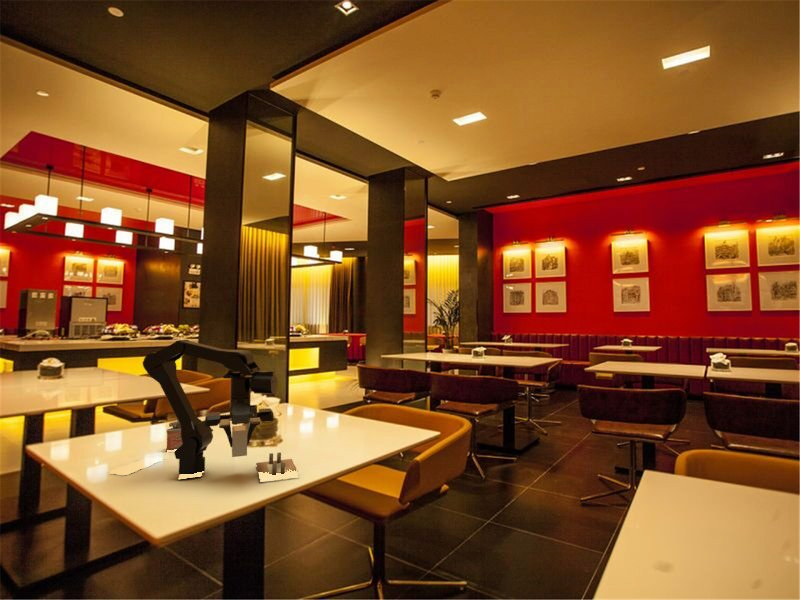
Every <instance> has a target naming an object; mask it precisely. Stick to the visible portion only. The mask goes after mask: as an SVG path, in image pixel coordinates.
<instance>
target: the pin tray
mask: <svg viewBox="0 0 800 600" xmlns="http://www.w3.org/2000/svg"><path fill="white" fill-rule="evenodd" d="M268 457H269V458H268V461H262V462H256V463H255V466H256V465H257V469H258V472H263V473H265V472H267V473H268V472H269V474H272V475H276V473H281V474H284V473H285V472H287V470H288V471H289V469H290V470H292V471H294V470H295V471H296V470H297V466H296V465H295V463H294V461H293V459H292V458H287V459H282V452H277V453H276V460H274V453H269V455H268ZM257 469H256V470H257ZM297 471H298V470H297ZM290 472H291V471H290Z"/></svg>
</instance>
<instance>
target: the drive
mask: <svg viewBox="0 0 800 600" xmlns="http://www.w3.org/2000/svg"><path fill="white" fill-rule="evenodd" d="M247 431H248V425H247V424H244V425H232V428H231V435H232V447H231V458H235V457H238V458H239V457H245V456H248V446H247Z"/></svg>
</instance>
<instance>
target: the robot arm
mask: <svg viewBox="0 0 800 600" xmlns="http://www.w3.org/2000/svg"><path fill="white" fill-rule="evenodd" d="M185 355H186V356H188V357H194V358H196V359H197V358H198V359H200V360H201V359H202V360H206V361H210V362H215V363H218V364H220V365H221V366H223V367H224V368H226V369H229V370H228V372H226V373H225V374H224V375H223V376H222V378H223V379H230V384H229V385H230V388H229V390H230V391H229V392H230V394H229V397H230V398H229V413H227V414H221V411H214V412H213V411H212V412H207V413H206V414H205V419H204V420H202V419H200V418H199V417H198V416H197V414H196V412H195V411H194V408H193V405H191V402H190V401H189V399H188V398H189V397H188V396H187V394H186V392H185V391H184V389H183V386H182V384H181V382H180V380H179V379H178V376H177V364H176V361H178V360H180V359H181V358H182V357H183V356H185ZM142 366H143V367H142V368H143V369H144V370H145V371H146V373H147V374H148V375H149V377H150V378H151V379H153V380H154V381H156V383H158V384H159V385H160V388H161V390H162V391H163V394H164V396H165V397H166V399H167V401H168V403H169V406H170V407H171V410H172V411H173V413H174V415H175V417H176V419H177V421H179V423H180V425H181V440H182V443H183V444H182V445H181V446H180V447H179V448H178V449H177V450H176V451H175V452H173V453H174V457H175V459H176V460H178V475H179V474H194V473H197V472H202V471H206V467H205V466H206V457H205V456H204V452H205V451H207V448H208V446H209V445H211V443H212V441H213V438H214V434H213V432H214V429H213V428H212V427H217V426H218V428H219V429H223V430H224V432H225V434H226V437H227V439H228V443H229V446H230V448H232V428H231V424H232V426H238V424H239V425H241V424H244V425H247V424H248V425H247V447H248V446H249V443H250V440H251V438H252V435H253V433H254V430H255V428H256V427H257V426H260V425H261V422H262V423H264V422H265V423H267V422H273V421H274V411H273V410H272V408H270V407H268V408H258V405H257V404H251V401H252V400H251V397H252V396H251V395H252V393H251V392H253V394H259V395H265V394H266V395H275V394H276V392H277V389H278V383H279V382H278V377H277V375H276V371H275V370H268V371H267V370H261V368H260V366H259V365H258V364H257V362H256V361H255V357H254V354H253V353H252V352H251V351H250V350H247V349H246V350H245V349H224V348H219V347H216V346H213V345H207V344H204V343H199V342H196V341H195V342H194V341H191V340H189V339H180V340H176V341H174V342H173V343H171V344H169V345H168V346H165V347H164V348H162V349H161V348H160V349H159V350H158V351H155V352H151V353H148V354H146V355H145V356H144V359H143V361H142Z"/></svg>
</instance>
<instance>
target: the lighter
mask: <svg viewBox="0 0 800 600" xmlns="http://www.w3.org/2000/svg"><path fill="white" fill-rule="evenodd" d="M168 426H169V427H170V428H168V429H166V449H165V451H166V450H174V449H178V448H179V447H180V446H181V445H182V444H183V443H182V440H181V425H180V423H179V421H178V420H176V421H172V422H169V423H168ZM171 427H172V428H171Z"/></svg>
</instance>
